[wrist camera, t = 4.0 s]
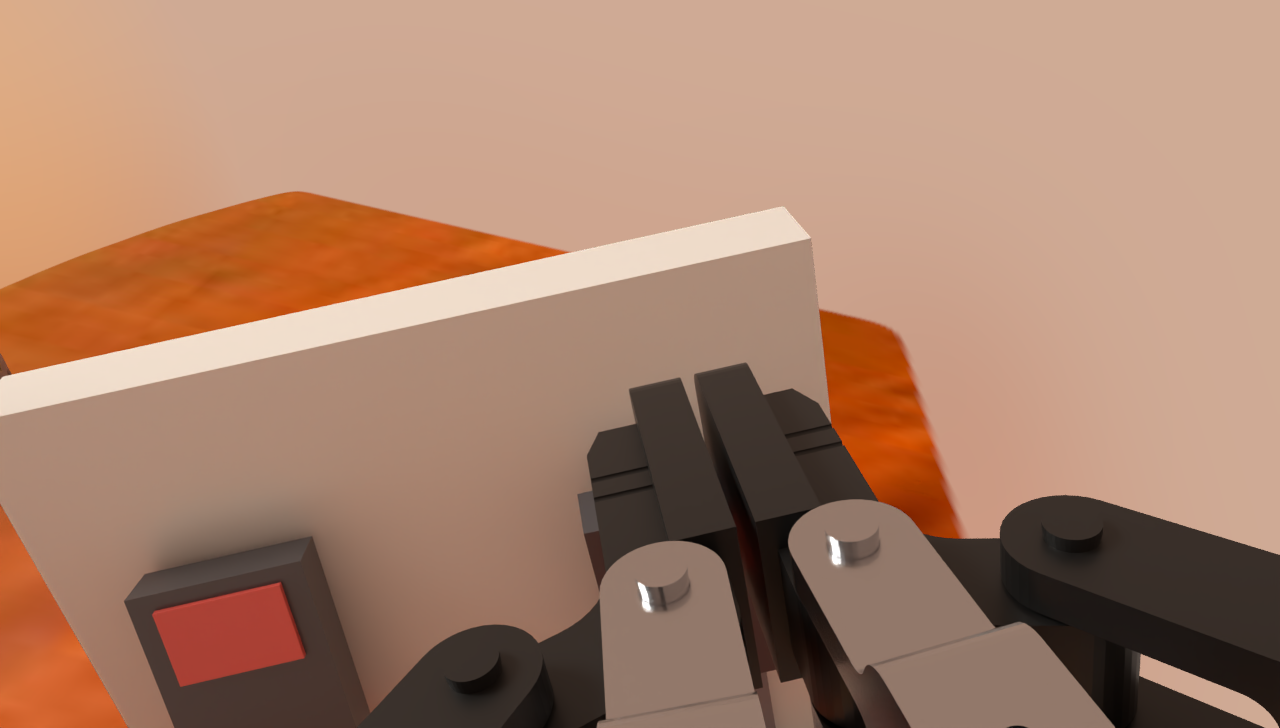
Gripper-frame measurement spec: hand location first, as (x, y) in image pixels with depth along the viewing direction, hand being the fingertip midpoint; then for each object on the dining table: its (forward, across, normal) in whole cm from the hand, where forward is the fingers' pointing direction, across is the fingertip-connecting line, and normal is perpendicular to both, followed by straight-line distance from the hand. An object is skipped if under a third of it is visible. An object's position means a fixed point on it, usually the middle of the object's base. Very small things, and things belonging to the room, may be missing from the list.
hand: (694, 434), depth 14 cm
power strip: (+16, +6, +24) cm, 30 cm away
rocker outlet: (+12, +13, +17) cm, 24 cm away
